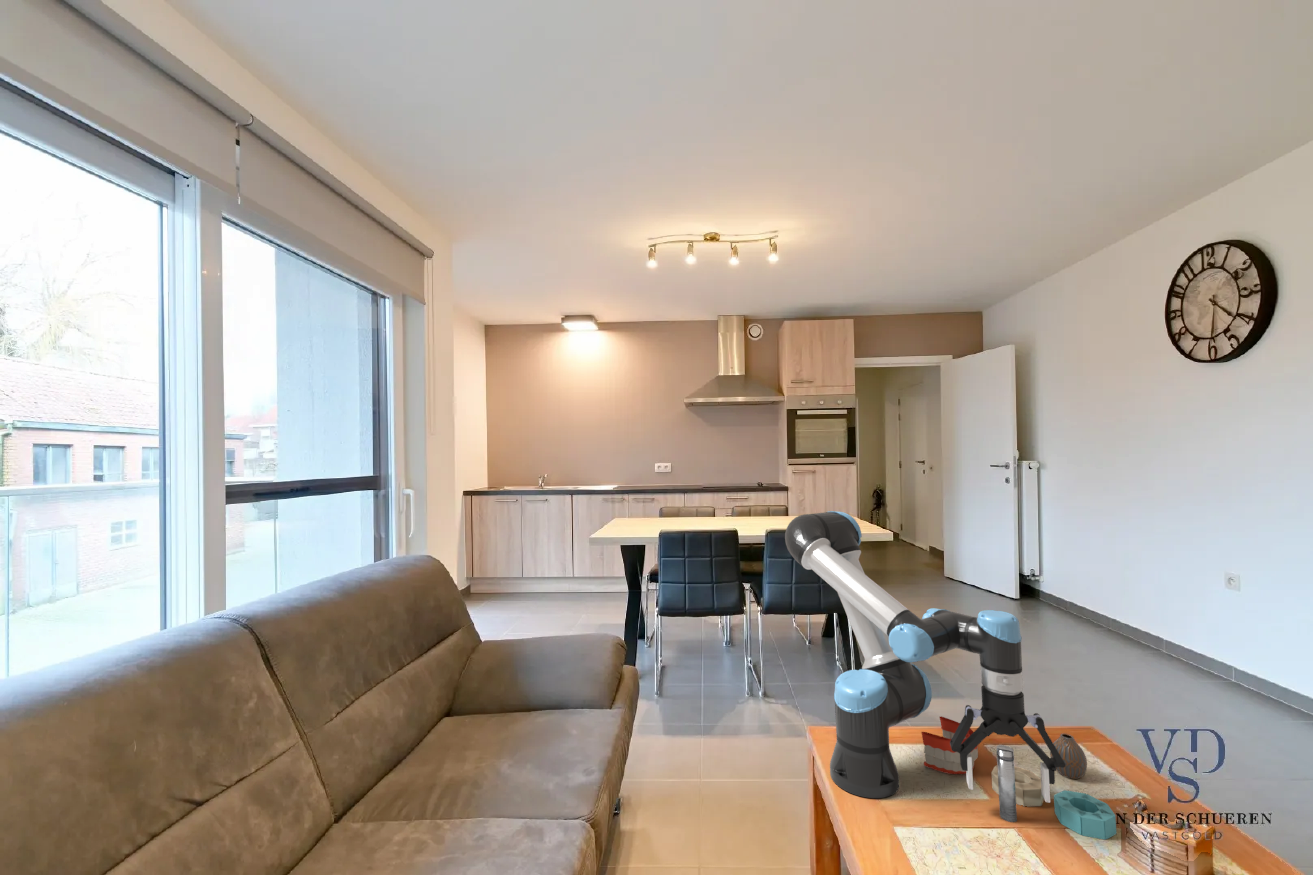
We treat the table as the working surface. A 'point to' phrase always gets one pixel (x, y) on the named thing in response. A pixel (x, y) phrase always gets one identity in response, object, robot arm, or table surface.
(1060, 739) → the vase
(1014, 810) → the capped vial
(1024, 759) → the table surface
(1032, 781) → the bead birch
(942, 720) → the toy
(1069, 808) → the bead teal
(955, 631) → the robot arm
